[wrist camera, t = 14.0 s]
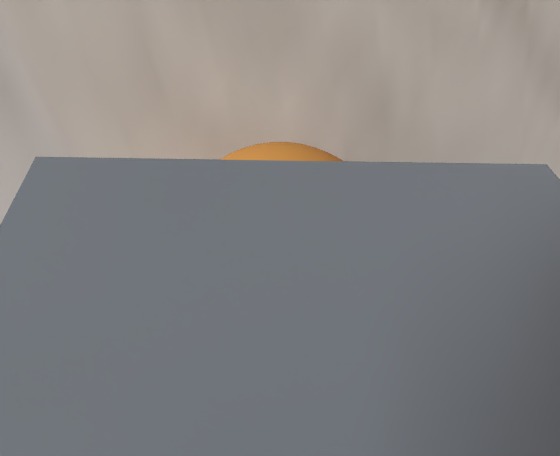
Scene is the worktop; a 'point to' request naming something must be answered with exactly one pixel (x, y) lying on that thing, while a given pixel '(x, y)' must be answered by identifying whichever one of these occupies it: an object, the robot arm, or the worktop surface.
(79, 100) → the worktop surface
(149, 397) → the plain gray cube
